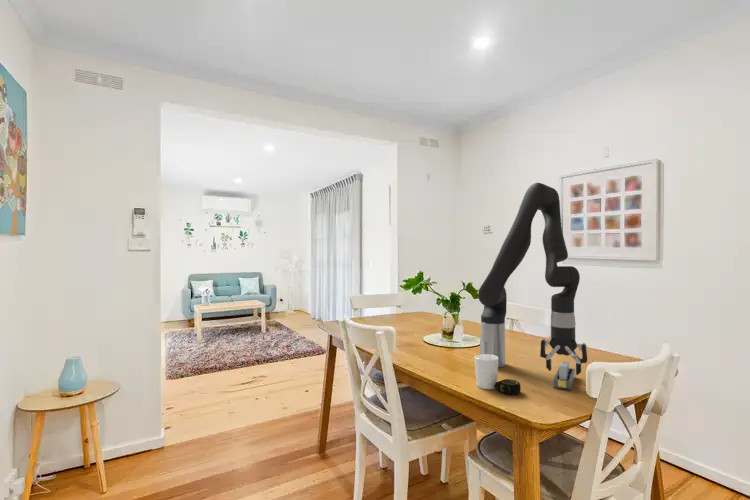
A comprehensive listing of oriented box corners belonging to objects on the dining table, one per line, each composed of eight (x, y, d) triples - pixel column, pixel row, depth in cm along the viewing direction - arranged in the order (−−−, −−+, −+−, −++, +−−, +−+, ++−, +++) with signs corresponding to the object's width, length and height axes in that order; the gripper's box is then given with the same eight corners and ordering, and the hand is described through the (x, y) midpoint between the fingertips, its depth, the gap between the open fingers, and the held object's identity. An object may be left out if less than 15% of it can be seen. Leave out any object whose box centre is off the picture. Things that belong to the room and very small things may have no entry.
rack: (570, 391, 125) (570, 374, 125) (553, 388, 128) (553, 371, 128) (575, 377, 139) (575, 361, 139) (559, 374, 141) (559, 359, 141)
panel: (566, 386, 128) (566, 368, 128) (559, 385, 129) (558, 367, 129) (567, 381, 132) (567, 364, 132) (560, 380, 133) (560, 363, 133)
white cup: (480, 380, 137) (480, 352, 137) (502, 385, 132) (501, 356, 132) (471, 386, 131) (470, 357, 131) (493, 392, 126) (492, 361, 126)
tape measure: (508, 387, 130) (507, 376, 130) (525, 393, 124) (525, 382, 124) (494, 391, 127) (493, 380, 127) (511, 398, 121) (510, 386, 121)
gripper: (538, 324, 131) (539, 372, 131) (585, 328, 123) (586, 379, 123) (542, 321, 137) (542, 366, 137) (587, 324, 130) (588, 372, 130)
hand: (563, 372), depth 130 cm, fingers open, 8 cm apart
